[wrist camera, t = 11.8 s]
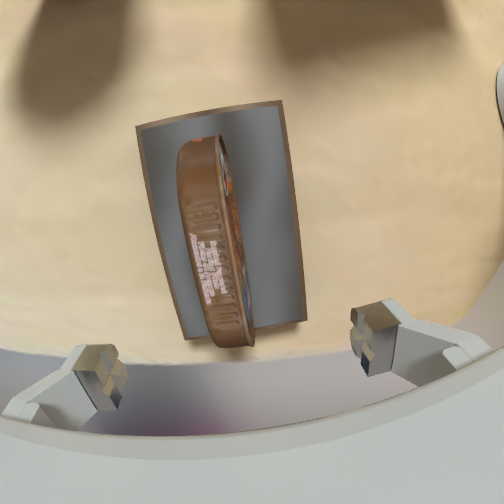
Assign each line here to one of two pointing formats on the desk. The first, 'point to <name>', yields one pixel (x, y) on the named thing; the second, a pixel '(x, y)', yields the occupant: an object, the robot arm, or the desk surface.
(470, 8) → the desk surface
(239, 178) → the plinth
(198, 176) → the tin
